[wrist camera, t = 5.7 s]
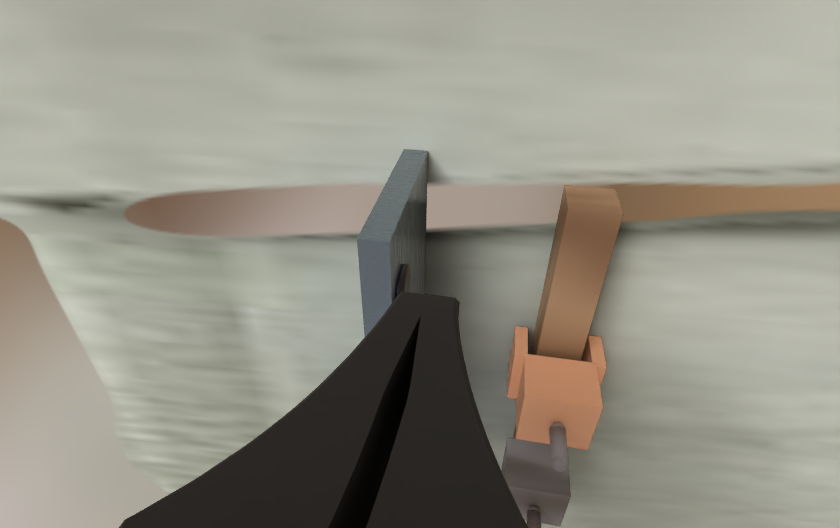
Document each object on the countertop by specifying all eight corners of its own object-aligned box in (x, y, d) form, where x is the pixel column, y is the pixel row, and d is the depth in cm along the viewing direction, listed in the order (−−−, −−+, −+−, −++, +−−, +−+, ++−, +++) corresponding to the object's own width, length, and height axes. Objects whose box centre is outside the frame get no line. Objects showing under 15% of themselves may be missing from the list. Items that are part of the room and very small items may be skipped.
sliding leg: (587, 378, 25) (604, 499, 20) (508, 367, 26) (504, 482, 20) (600, 336, 23) (623, 456, 18) (515, 326, 24) (512, 439, 19)
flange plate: (424, 422, 30) (401, 535, 25) (406, 419, 30) (380, 531, 25) (431, 151, 20) (394, 242, 14) (403, 149, 20) (357, 238, 14)
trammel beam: (553, 452, 30) (560, 575, 24) (501, 443, 30) (496, 563, 25) (630, 190, 19) (674, 301, 14) (549, 183, 20) (559, 288, 14)
